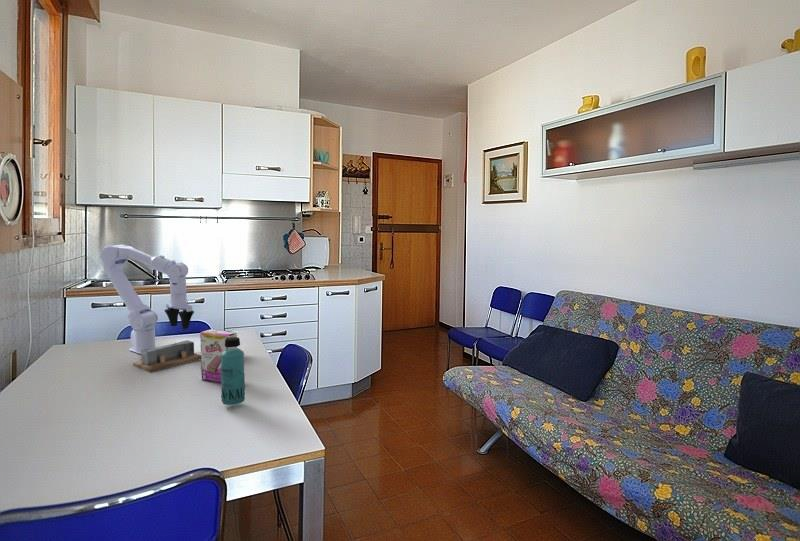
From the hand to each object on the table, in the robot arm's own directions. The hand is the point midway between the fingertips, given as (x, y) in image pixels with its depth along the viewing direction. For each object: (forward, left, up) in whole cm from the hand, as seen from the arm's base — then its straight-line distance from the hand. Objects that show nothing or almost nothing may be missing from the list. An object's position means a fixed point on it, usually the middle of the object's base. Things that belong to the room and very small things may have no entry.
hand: (179, 327), depth 185 cm
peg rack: (+10, -10, -10) cm, 17 cm away
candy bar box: (+42, -10, -10) cm, 44 cm away
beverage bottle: (+64, -20, -10) cm, 68 cm away
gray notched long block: (+10, -10, -9) cm, 17 cm away
